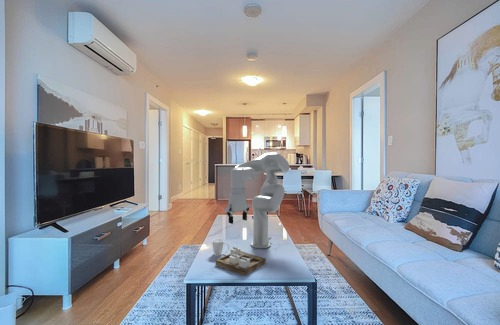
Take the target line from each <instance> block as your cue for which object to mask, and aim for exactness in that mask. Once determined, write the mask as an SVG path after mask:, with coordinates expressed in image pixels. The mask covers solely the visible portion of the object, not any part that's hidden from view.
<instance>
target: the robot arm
mask: <svg viewBox="0 0 500 325" xmlns="http://www.w3.org/2000/svg"><path fill="white" fill-rule="evenodd" d="M289 169H290V163H289V161H288V160H287V159H286V158H285V157H284V156H283V155H281V154H280V153H278V152H266V153H263V154H261V155H259V156H258V157H256V158H254V159H252V160H249V161H246V162H242V163H240V164H237V165H236V166H235V167H234V168H231V170H230V193H229V195H228V203H227V206H226V207H225V208H224V212H225V214H226V215H227V217H228V224H231V225H232V224H234V214H235V213H238V212H240V213H241V212H242V214H241V215H242V220H243V221H248V214H249V210H250V207H252V216H253V217H252V221H253V222H252V225H253V226H252V227H253V229H252V233H253V235H252V241H251V242H250V246H251V247H252V248H255V249H260V250H261V249H268V248H270V247H271V243H270V242H269V241H270V240H272V236H270V235H269V216H268V213H277V212H278V210H279V208H280V207H281V206H280V205H281V203H282V201H283V199H284V197H285V191H286V190H285V187H284V185H283V184H279V179H278V176H277V175H276V173H281V174H282V173H283V174H284V173H288V172H289ZM264 170H265V174H266V176H265V177H266V178H265V180H264V182H263V184H262V186H261V188H260V192H259V194H260V195H256V196H254V197H253V198H252V200H251V204H250V203H248V202H247V195H246V188H245V181H247V182H250V181H253V180H255V178H256V176H257V173H260V172H263V171H264Z"/></svg>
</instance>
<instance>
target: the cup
mask: <svg viewBox="0 0 500 325" xmlns="http://www.w3.org/2000/svg"><path fill="white" fill-rule="evenodd" d="M211 243H212V249H213V250H212V251H213V255H214V256H216V257H217V256H222V255H225V254H226V253H228V251H229V250H230V246H229V243H227V242H225V240H224V239H223V238H213V239H212V240H211ZM224 244H226V245H227V251H225V252H223V249H224ZM222 252H223V253H222Z"/></svg>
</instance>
